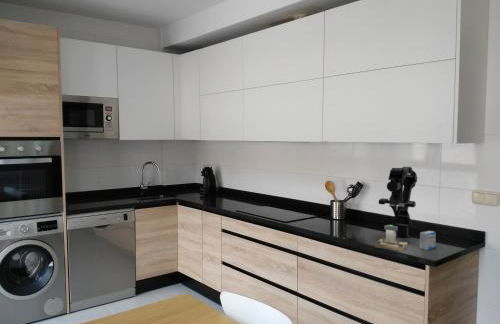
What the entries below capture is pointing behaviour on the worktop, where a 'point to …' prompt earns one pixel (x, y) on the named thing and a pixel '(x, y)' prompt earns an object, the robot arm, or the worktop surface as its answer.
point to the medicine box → (427, 240)
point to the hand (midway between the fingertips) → (396, 218)
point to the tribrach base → (391, 244)
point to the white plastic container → (390, 233)
